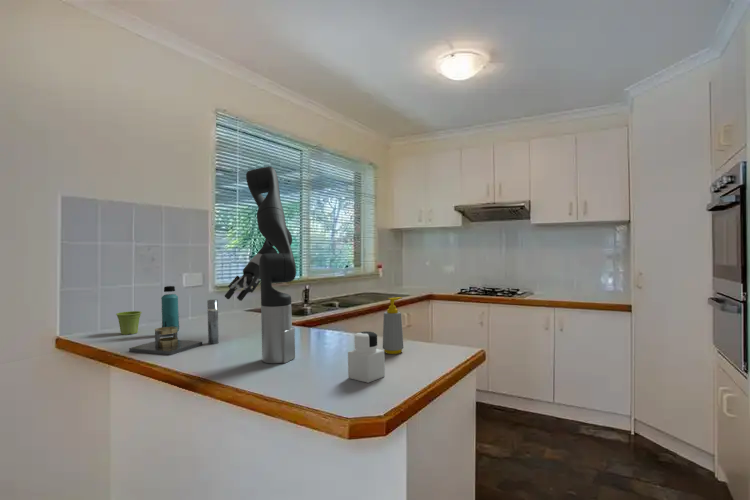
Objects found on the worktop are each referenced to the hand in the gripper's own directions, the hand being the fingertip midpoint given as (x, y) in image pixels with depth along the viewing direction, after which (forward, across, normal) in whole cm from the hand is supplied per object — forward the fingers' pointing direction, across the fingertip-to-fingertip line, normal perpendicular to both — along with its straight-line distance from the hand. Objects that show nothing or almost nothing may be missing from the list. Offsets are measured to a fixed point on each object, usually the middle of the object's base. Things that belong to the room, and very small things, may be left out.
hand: (232, 298), depth 165 cm
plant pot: (+25, -47, -2) cm, 53 cm away
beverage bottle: (+19, -29, +4) cm, 35 cm away
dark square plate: (+27, -6, -5) cm, 28 cm away
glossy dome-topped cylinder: (+17, 0, +5) cm, 18 cm away
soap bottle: (-3, +62, +25) cm, 67 cm away
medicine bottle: (+15, +73, +7) cm, 75 cm away
